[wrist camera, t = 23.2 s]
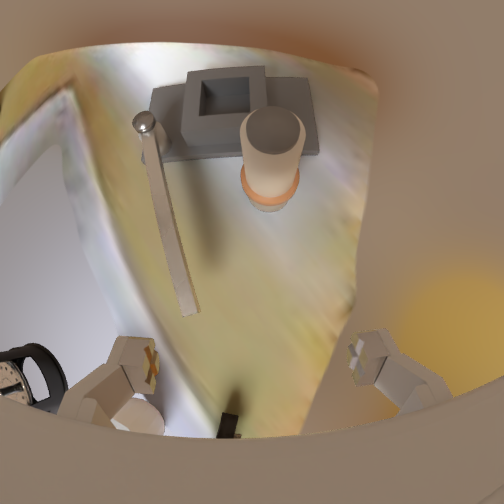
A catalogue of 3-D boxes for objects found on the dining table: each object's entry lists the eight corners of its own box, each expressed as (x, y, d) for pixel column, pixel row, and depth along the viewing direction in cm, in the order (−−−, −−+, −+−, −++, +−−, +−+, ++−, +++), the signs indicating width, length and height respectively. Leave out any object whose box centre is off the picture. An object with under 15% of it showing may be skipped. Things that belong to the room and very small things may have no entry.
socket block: (144, 164, 28) (129, 147, 24) (155, 93, 30) (144, 72, 25) (317, 155, 28) (325, 134, 24) (306, 83, 29) (311, 59, 25)
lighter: (234, 453, 26) (224, 496, 21) (214, 449, 26) (203, 491, 21) (246, 417, 22) (235, 471, 17) (221, 412, 22) (206, 465, 17)
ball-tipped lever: (139, 127, 24) (131, 116, 22) (158, 119, 24) (151, 107, 22) (182, 317, 22) (174, 319, 20) (206, 310, 22) (200, 312, 20)
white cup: (114, 382, 25) (78, 402, 18) (175, 405, 25) (150, 434, 18) (110, 433, 24) (78, 460, 17) (166, 456, 24) (145, 490, 17)
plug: (244, 217, 27) (232, 164, 16) (243, 170, 28) (232, 98, 16) (295, 215, 27) (318, 162, 15) (292, 169, 28) (308, 96, 16)
